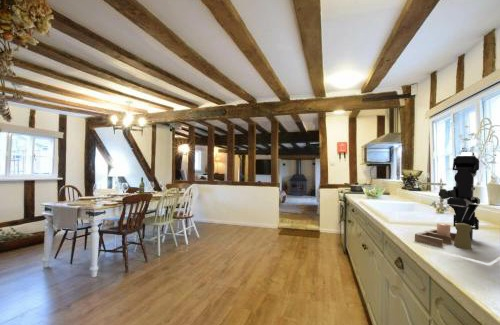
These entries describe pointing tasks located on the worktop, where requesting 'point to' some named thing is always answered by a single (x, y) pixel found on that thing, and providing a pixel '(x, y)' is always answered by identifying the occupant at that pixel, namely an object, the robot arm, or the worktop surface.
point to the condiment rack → (435, 238)
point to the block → (443, 229)
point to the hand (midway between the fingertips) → (463, 221)
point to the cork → (463, 236)
